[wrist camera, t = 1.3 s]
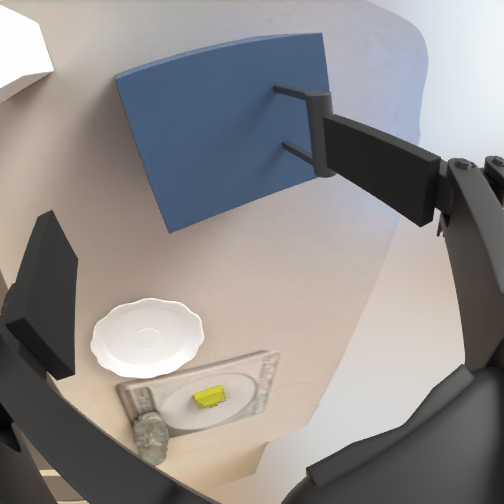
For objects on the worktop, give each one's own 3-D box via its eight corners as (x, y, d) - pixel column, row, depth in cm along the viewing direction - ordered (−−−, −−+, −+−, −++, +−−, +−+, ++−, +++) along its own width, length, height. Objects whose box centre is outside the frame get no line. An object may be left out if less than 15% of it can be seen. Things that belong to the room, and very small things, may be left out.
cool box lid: (317, 32, 26) (378, 34, 20) (332, 168, 36) (383, 200, 30) (115, 78, 22) (114, 84, 16) (167, 230, 32) (188, 282, 26)
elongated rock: (136, 458, 84) (165, 452, 88) (141, 472, 80) (170, 466, 85) (126, 413, 65) (165, 406, 70) (131, 432, 61) (172, 424, 66)
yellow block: (225, 380, 72) (229, 389, 70) (230, 397, 78) (234, 406, 76) (185, 393, 70) (189, 403, 68) (193, 409, 75) (197, 418, 73)
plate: (206, 356, 65) (209, 362, 63) (111, 381, 58) (112, 387, 57) (193, 279, 53) (196, 286, 51) (73, 310, 46) (73, 317, 45)
